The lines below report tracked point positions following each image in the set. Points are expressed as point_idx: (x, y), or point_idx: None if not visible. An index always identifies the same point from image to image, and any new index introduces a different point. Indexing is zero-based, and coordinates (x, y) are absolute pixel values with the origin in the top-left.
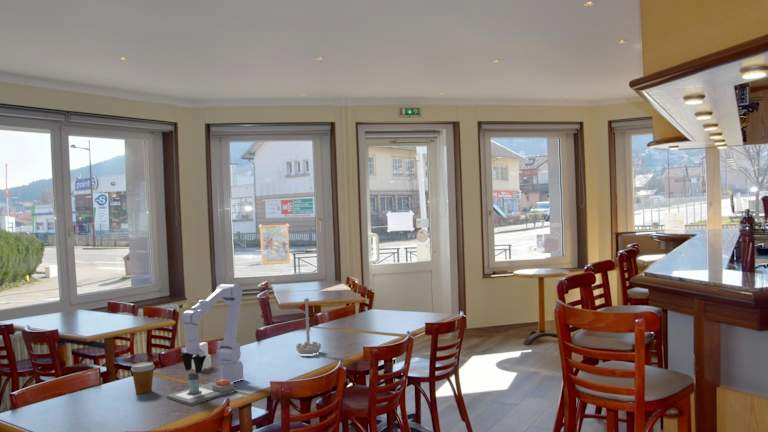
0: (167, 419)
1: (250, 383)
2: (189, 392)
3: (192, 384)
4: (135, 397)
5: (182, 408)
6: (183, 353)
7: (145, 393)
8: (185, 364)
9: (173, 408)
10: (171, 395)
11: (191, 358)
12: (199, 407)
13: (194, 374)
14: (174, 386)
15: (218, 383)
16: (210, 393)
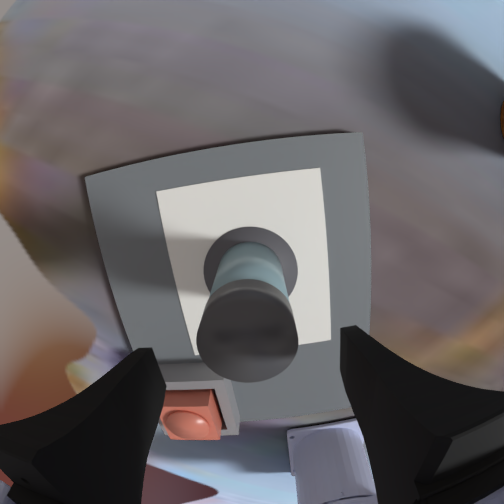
0: (20, 44)
1: (235, 469)
2: (252, 244)
3: (218, 278)
4: (477, 54)
5: (86, 126)
6: (484, 467)
7: (501, 116)
8: (367, 364)
9: (121, 86)
10: (328, 148)
11: (374, 469)
12: (47, 200)
13: (214, 341)
14: (491, 264)
15: (186, 400)
16: (171, 328)
